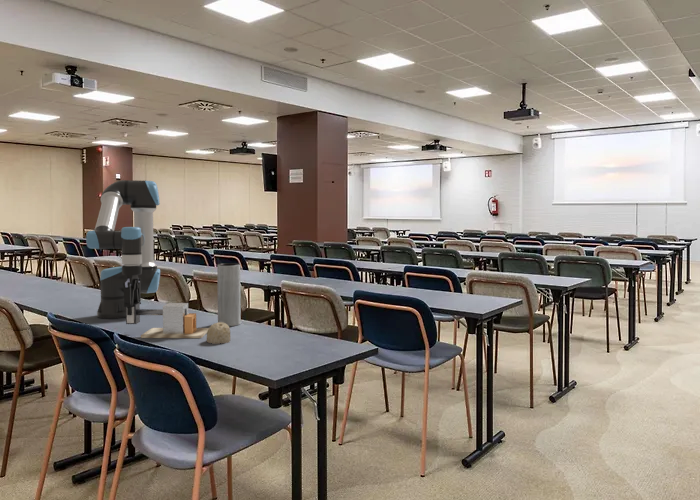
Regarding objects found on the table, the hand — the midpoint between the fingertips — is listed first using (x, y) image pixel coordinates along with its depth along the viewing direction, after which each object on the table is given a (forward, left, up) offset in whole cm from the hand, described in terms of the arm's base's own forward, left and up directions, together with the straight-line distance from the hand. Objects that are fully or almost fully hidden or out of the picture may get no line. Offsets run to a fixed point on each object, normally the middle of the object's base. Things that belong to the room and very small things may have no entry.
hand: (133, 321), depth 224 cm
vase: (-20, +35, -5) cm, 41 cm away
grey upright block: (0, +17, -5) cm, 18 cm away
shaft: (0, +9, -1) cm, 9 cm away
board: (0, +17, -5) cm, 18 cm away
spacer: (0, +23, -1) cm, 23 cm away
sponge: (+12, +37, -5) cm, 40 cm away
